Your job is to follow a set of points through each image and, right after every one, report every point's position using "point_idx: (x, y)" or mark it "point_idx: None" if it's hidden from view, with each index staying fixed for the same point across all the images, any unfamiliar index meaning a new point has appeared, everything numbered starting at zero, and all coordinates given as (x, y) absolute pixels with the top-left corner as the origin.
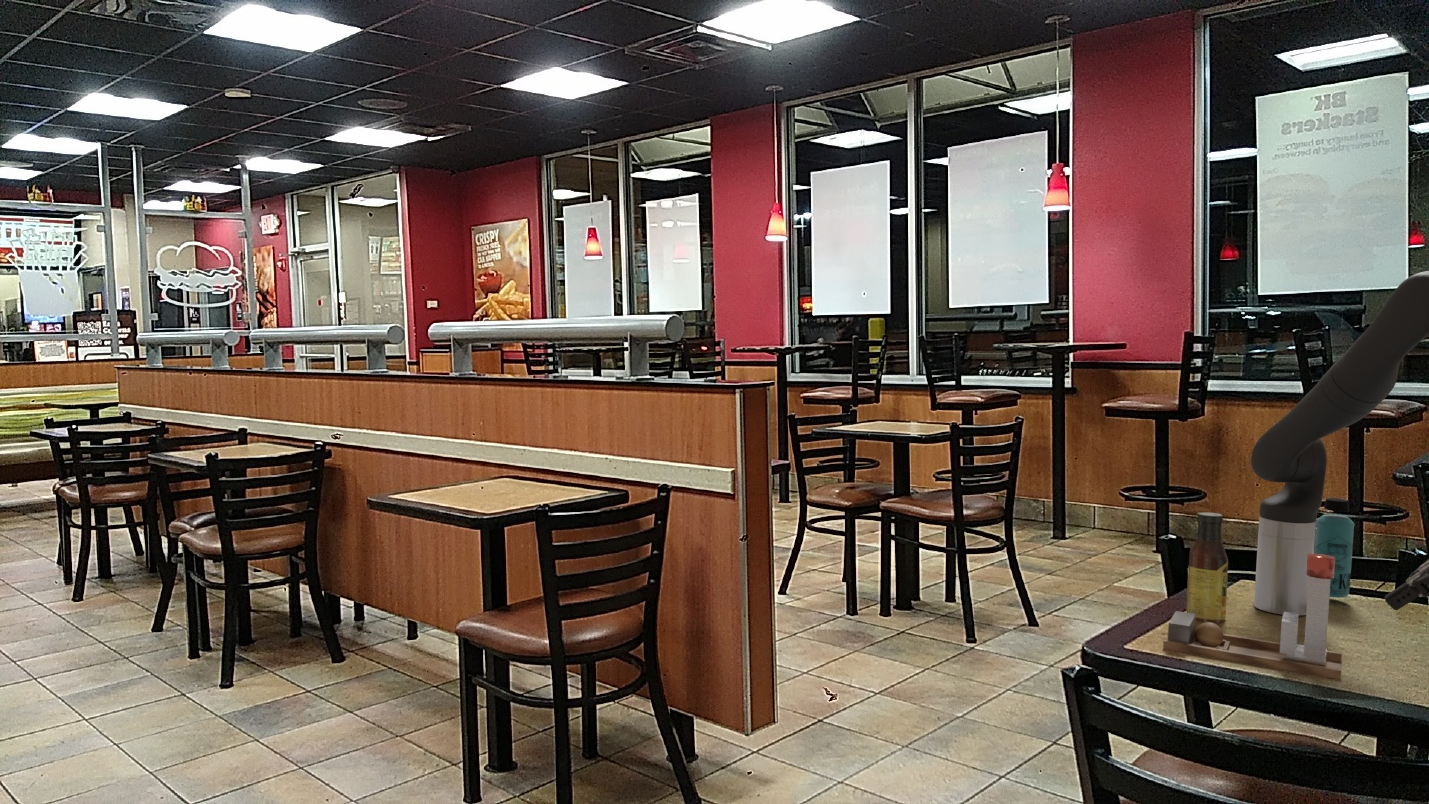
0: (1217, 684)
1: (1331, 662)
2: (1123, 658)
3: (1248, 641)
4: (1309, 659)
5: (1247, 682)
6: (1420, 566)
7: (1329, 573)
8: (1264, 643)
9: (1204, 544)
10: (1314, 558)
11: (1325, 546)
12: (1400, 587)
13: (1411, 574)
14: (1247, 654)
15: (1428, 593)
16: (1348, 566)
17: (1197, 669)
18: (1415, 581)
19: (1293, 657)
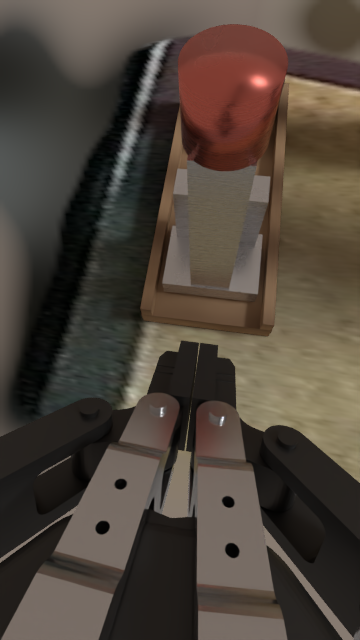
0: (91, 163)
1: (245, 311)
2: (157, 66)
3: (272, 183)
4: (167, 258)
5: (119, 197)
6: (234, 469)
7: (190, 140)
8: (270, 205)
9: None
10: (187, 44)
11: None
12: (183, 378)
13: (279, 434)
14: (171, 176)
15: (60, 467)
16: None
17: (151, 141)
18: (72, 411)
19: (171, 236)
